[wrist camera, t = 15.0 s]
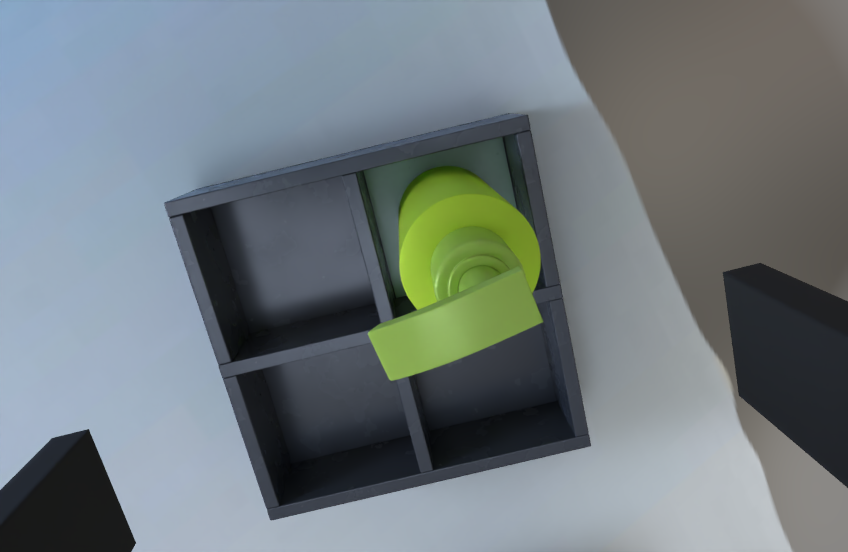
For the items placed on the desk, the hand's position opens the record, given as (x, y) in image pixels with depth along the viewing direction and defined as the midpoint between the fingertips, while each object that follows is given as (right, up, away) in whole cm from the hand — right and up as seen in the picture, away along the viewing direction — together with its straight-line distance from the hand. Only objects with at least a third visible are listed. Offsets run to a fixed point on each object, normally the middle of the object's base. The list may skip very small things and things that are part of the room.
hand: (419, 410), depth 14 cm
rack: (-2, +1, +29) cm, 29 cm away
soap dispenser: (+1, +6, +27) cm, 28 cm away
